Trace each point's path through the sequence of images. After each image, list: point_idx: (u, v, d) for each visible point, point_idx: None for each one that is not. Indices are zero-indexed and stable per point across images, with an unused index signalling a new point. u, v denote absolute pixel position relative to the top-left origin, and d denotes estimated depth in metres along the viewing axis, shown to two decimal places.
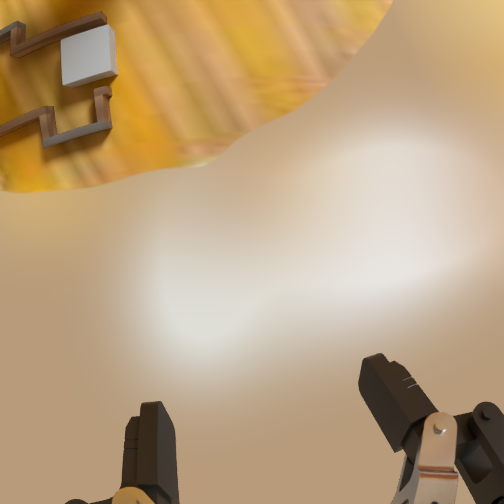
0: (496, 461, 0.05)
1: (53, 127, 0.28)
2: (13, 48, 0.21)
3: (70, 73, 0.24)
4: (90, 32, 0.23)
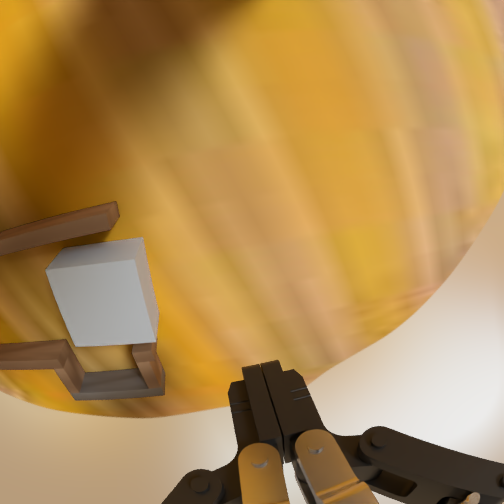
0: (417, 475, 0.06)
1: (77, 369, 0.21)
2: None
3: (83, 333, 0.17)
4: (100, 269, 0.16)
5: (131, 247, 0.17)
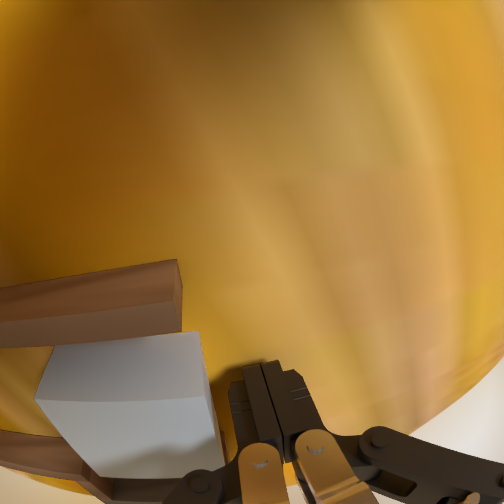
0: (417, 475, 0.06)
1: None
2: None
3: (112, 468, 0.09)
4: (137, 408, 0.08)
5: (185, 357, 0.10)
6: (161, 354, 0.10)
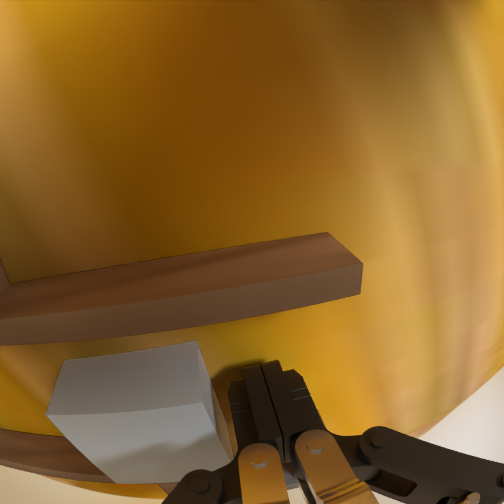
0: (416, 475, 0.06)
1: None
2: None
3: (126, 475, 0.10)
4: (141, 418, 0.08)
5: (184, 366, 0.10)
6: (161, 364, 0.10)
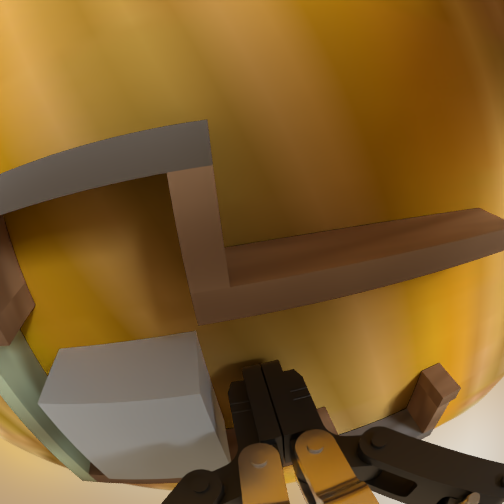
0: (416, 475, 0.06)
1: None
2: (214, 297, 0.08)
3: (119, 469, 0.10)
4: (136, 409, 0.08)
5: (182, 357, 0.10)
6: (159, 354, 0.10)
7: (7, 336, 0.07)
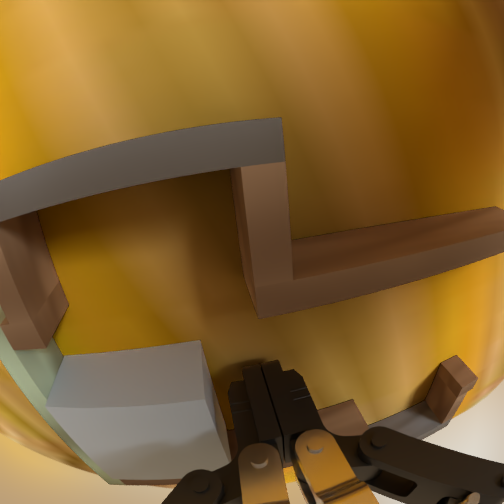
0: (416, 475, 0.06)
1: None
2: (276, 290, 0.08)
3: (123, 470, 0.10)
4: (142, 413, 0.08)
5: (187, 363, 0.10)
6: (164, 360, 0.10)
7: (44, 338, 0.07)
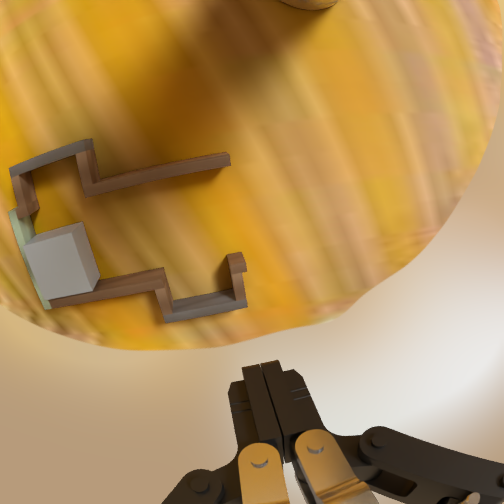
0: (417, 475, 0.06)
1: (169, 294, 0.30)
2: (88, 187, 0.23)
3: (48, 289, 0.25)
4: (53, 241, 0.23)
5: (73, 227, 0.25)
6: (67, 228, 0.25)
7: (28, 212, 0.23)
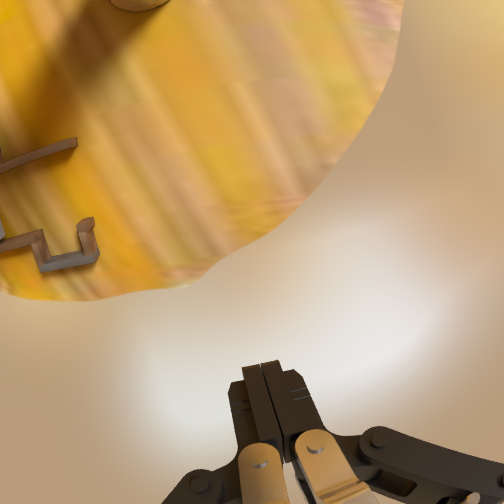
0: (417, 475, 0.06)
1: (45, 250, 0.33)
2: None
3: None
4: None
5: None
6: None
7: None
